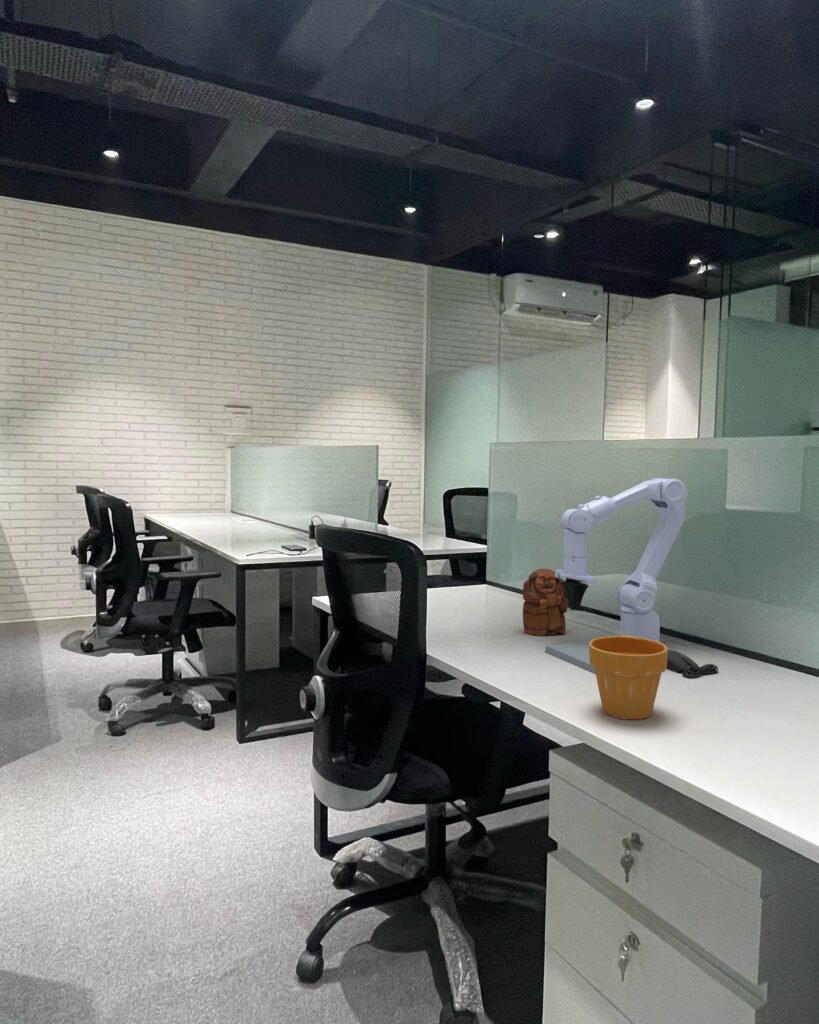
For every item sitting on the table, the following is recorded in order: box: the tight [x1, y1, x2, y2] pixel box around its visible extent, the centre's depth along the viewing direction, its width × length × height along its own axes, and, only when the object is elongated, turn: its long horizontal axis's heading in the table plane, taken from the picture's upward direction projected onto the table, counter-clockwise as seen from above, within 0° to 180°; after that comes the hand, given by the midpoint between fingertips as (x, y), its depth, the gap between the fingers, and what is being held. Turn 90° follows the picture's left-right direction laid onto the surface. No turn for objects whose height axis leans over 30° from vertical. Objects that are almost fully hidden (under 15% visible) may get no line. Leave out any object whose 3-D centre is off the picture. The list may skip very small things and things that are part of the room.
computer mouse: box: [666, 649, 719, 679], centre depth 165 cm, size 10×15×4 cm
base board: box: [544, 639, 596, 675], centre depth 171 cm, size 16×24×4 cm, turn 23°
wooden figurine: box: [522, 568, 569, 637], centre depth 197 cm, size 12×6×18 cm, turn 100°
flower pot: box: [589, 635, 669, 720], centre depth 135 cm, size 14×14×13 cm
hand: (574, 609), depth 182 cm, fingers closed
